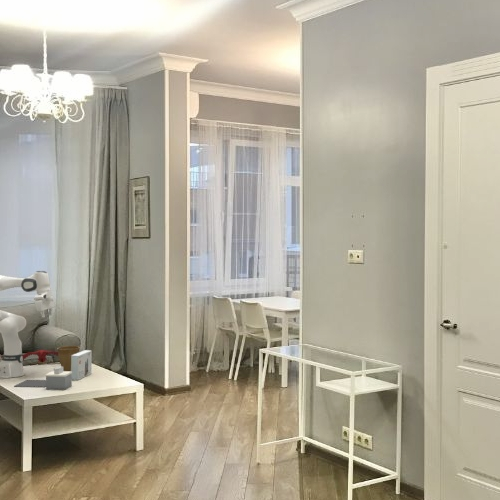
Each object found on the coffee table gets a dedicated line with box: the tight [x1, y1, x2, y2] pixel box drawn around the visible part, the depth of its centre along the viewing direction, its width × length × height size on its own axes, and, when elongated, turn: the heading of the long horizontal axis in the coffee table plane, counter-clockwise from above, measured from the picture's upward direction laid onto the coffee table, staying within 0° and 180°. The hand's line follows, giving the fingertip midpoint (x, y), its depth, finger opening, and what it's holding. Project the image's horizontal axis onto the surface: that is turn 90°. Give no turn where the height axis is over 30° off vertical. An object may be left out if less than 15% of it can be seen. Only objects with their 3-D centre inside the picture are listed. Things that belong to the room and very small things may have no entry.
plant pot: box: [56, 345, 81, 371], centre depth 480 cm, size 15×15×16 cm
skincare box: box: [71, 349, 93, 381], centre depth 460 cm, size 21×5×16 cm, turn 168°
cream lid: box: [45, 366, 72, 377], centre depth 428 cm, size 13×11×6 cm
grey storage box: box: [45, 373, 73, 391], centre depth 429 cm, size 12×10×8 cm
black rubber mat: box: [13, 379, 46, 388], centre depth 440 cm, size 20×18×1 cm
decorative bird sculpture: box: [23, 349, 59, 365], centre depth 505 cm, size 28×9×15 cm
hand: (46, 316), depth 462 cm, fingers open, 8 cm apart
